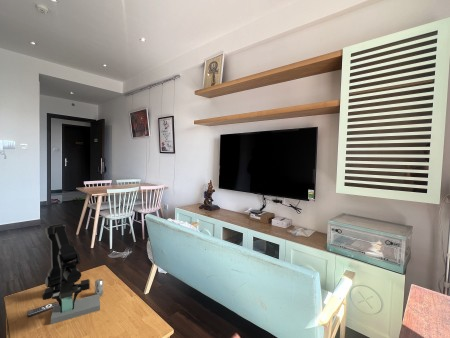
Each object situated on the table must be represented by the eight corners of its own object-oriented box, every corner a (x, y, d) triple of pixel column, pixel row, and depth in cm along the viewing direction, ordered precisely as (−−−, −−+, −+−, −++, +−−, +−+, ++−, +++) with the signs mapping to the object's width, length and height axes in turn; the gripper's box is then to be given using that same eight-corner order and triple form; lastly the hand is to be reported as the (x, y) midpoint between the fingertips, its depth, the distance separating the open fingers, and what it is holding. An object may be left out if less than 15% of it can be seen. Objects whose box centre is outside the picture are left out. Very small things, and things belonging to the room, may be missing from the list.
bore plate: (53, 310, 111) (53, 305, 111) (99, 298, 121) (99, 293, 121) (50, 324, 101) (50, 319, 101) (100, 310, 112) (100, 305, 112)
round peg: (94, 293, 125) (94, 280, 125) (102, 291, 127) (102, 278, 127) (94, 297, 122) (95, 283, 121) (103, 295, 124) (103, 281, 123)
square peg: (62, 311, 110) (62, 296, 110) (72, 309, 112) (72, 294, 112) (62, 316, 107) (62, 301, 106) (71, 314, 109) (72, 298, 108)
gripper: (40, 288, 97) (40, 322, 97) (89, 278, 107) (89, 308, 107) (44, 276, 106) (44, 307, 107) (89, 267, 116) (89, 296, 117)
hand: (67, 305), depth 109 cm, fingers open, 5 cm apart
